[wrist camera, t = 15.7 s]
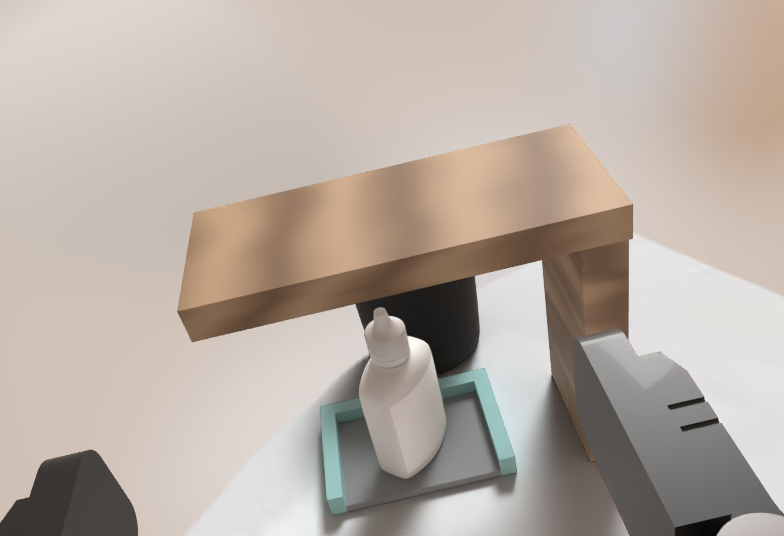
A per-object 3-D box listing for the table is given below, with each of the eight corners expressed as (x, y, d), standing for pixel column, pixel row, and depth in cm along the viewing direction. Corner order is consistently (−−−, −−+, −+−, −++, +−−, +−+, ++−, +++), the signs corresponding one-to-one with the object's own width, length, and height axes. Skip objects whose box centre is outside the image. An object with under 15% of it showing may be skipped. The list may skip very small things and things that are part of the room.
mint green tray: (332, 515, 47) (326, 500, 46) (325, 421, 53) (319, 406, 52) (517, 472, 47) (514, 456, 46) (487, 383, 53) (484, 367, 52)
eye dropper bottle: (468, 446, 48) (441, 309, 41) (394, 490, 47) (352, 354, 39) (434, 406, 51) (403, 272, 44) (363, 446, 50) (320, 313, 43)
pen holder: (439, 286, 63) (420, 186, 57) (510, 340, 56) (497, 234, 50) (346, 338, 60) (315, 239, 54) (409, 403, 53) (382, 298, 47)
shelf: (287, 539, 46) (177, 311, 35) (285, 431, 53) (193, 212, 42) (631, 459, 46) (633, 204, 35) (581, 361, 53) (570, 123, 42)
